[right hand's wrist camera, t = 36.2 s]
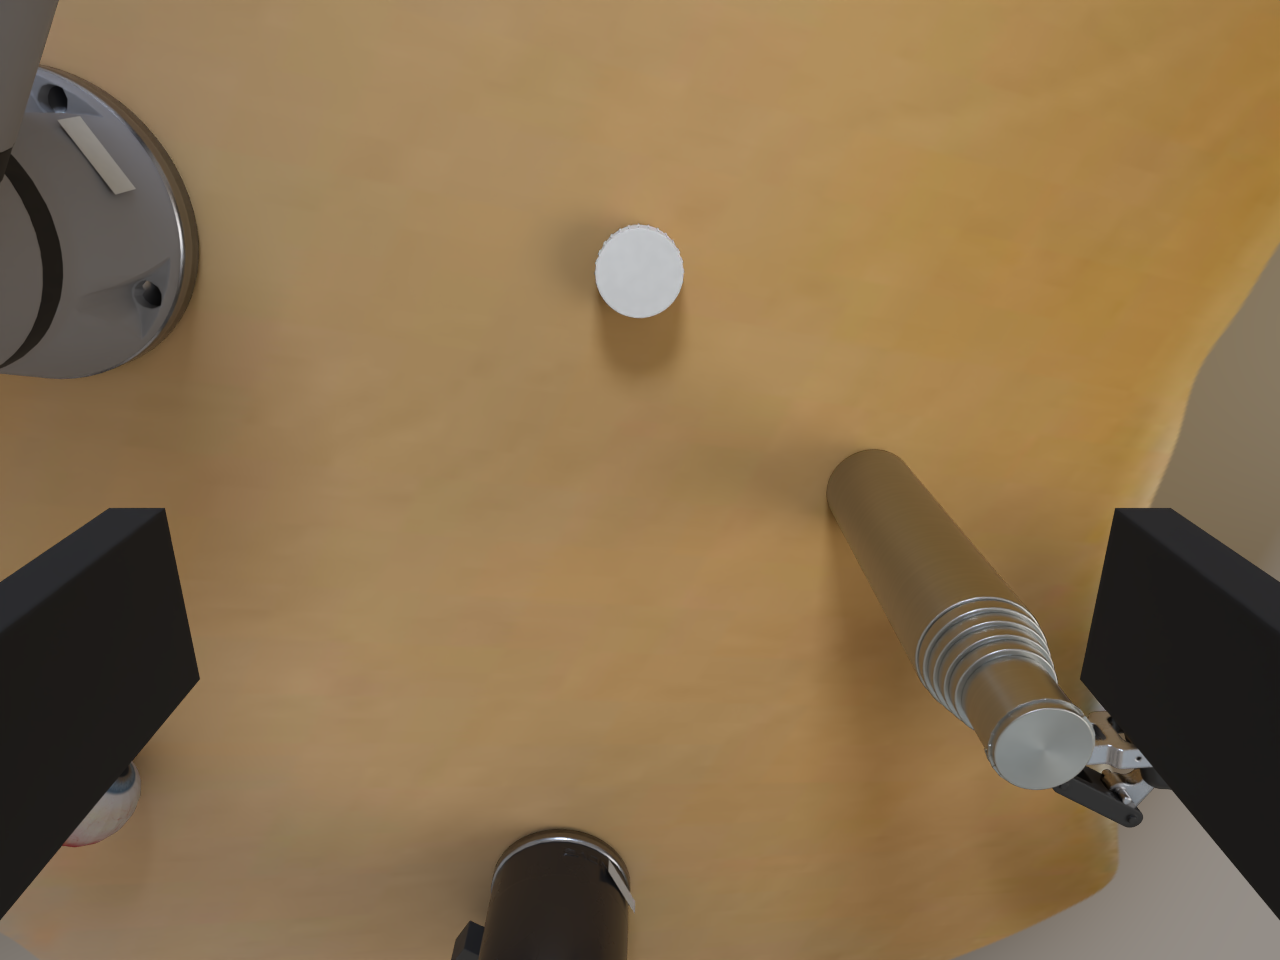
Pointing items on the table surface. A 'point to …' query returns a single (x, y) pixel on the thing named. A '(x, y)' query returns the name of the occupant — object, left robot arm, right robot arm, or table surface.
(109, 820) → the eyeball
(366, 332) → the table surface
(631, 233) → the cap
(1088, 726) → the bottle
